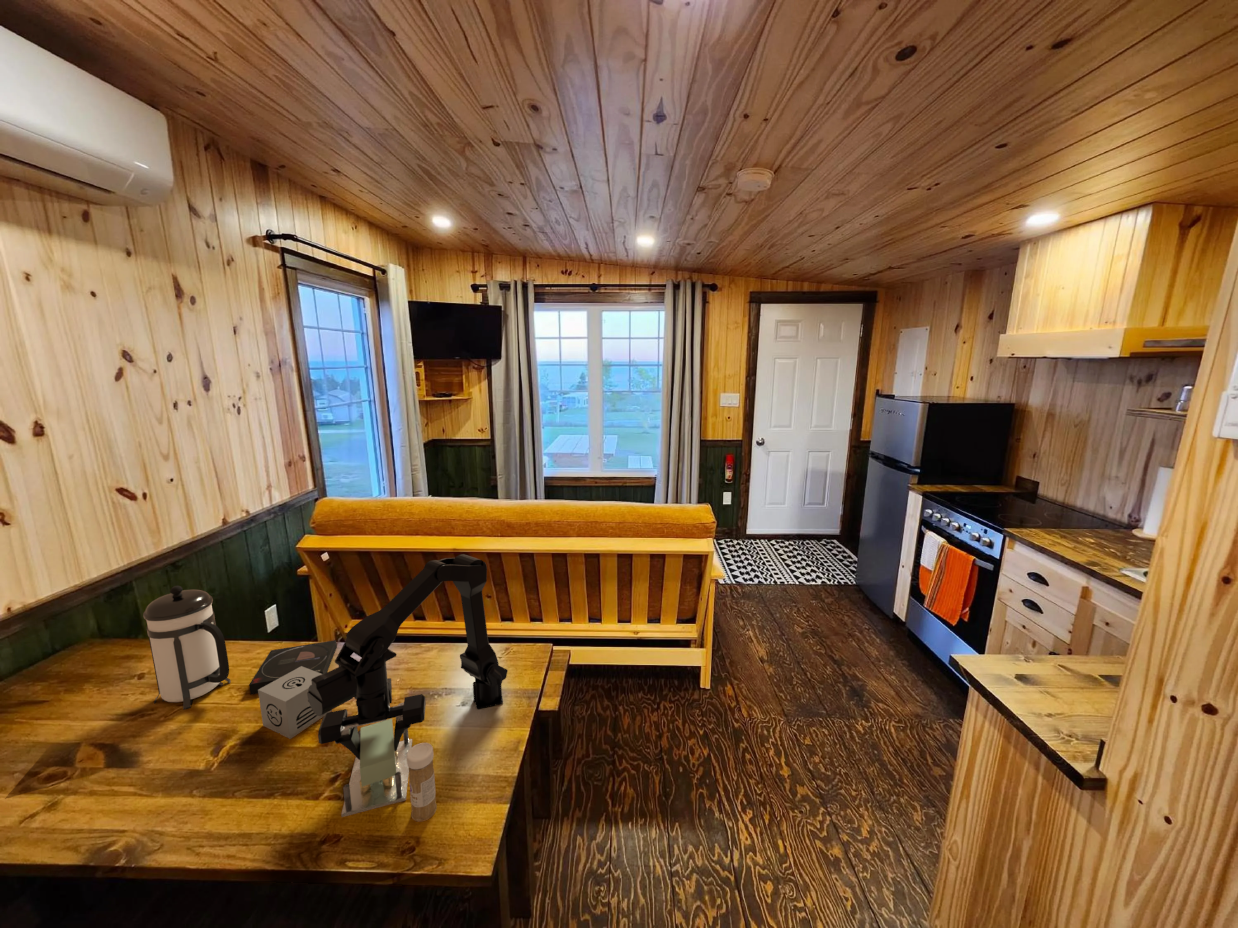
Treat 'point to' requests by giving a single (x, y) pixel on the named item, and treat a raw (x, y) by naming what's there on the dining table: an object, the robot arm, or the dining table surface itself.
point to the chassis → (378, 784)
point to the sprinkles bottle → (421, 781)
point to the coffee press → (186, 645)
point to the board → (377, 752)
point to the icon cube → (288, 703)
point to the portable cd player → (293, 662)
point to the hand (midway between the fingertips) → (378, 753)
